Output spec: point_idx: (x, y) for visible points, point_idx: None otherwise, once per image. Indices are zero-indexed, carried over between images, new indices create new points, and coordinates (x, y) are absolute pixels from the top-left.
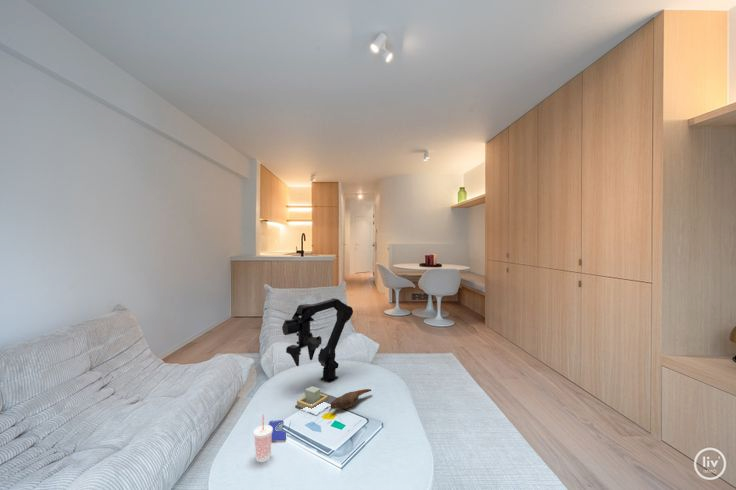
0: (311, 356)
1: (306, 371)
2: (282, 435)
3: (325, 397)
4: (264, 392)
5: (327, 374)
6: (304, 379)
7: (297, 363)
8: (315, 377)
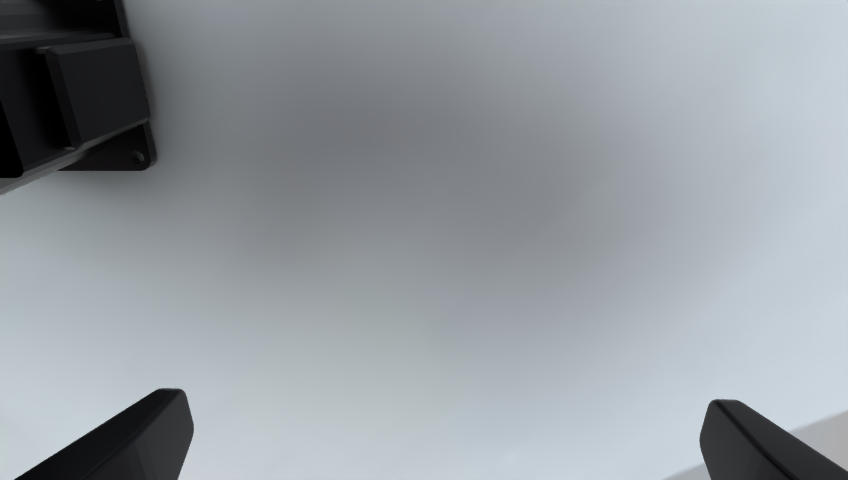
0: (121, 478)
1: None
2: None
3: None
4: None
5: (59, 44)
6: (292, 326)
7: (828, 470)
8: (167, 260)
